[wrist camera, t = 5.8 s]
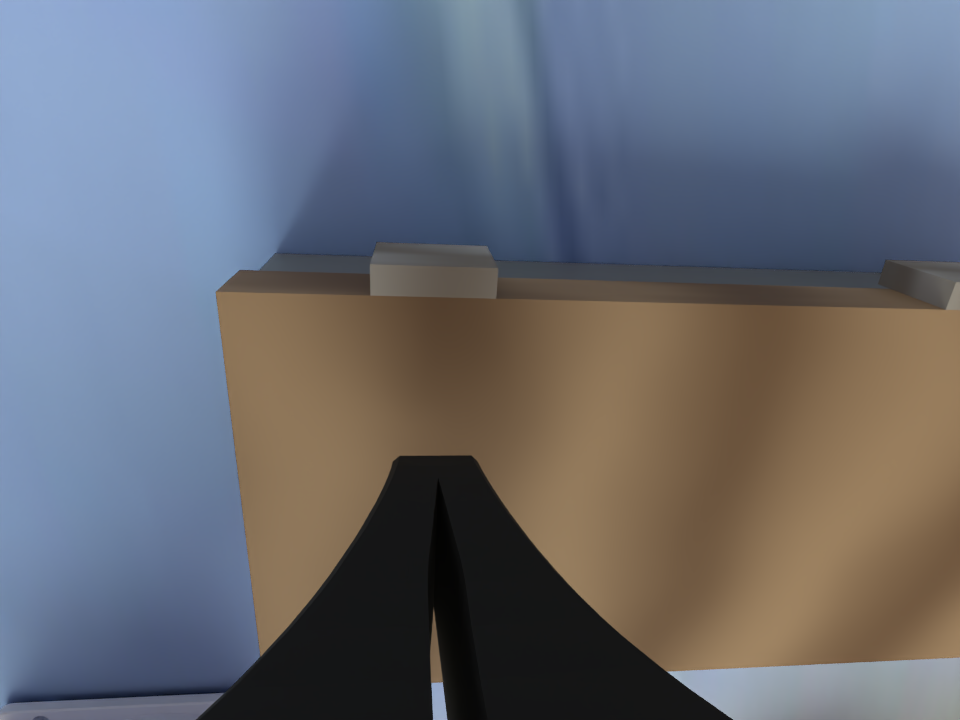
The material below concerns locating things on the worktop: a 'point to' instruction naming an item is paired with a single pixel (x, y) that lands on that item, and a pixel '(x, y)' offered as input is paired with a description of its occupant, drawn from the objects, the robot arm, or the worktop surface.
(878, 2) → the worktop surface
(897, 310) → the tan flat wooden board
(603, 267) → the cable duct
